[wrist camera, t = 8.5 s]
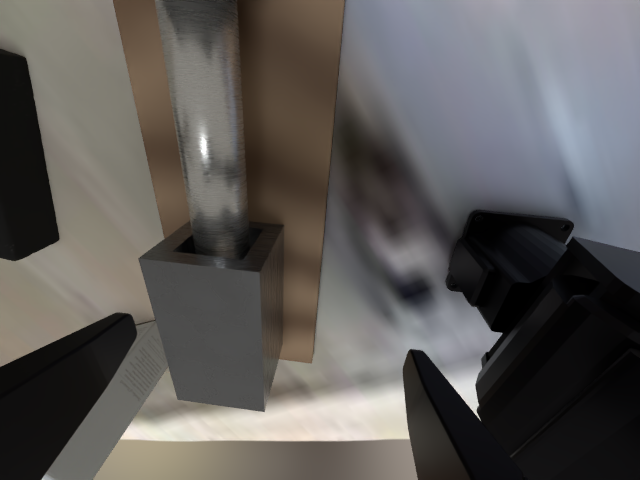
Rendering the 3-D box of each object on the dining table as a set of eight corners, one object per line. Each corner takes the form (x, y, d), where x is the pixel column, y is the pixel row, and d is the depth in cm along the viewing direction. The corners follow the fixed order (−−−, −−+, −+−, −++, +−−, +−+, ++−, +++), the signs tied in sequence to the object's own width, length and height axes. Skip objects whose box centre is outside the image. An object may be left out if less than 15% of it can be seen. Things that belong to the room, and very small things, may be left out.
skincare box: (137, 358, 29) (15, 506, 18) (111, 330, 27) (-39, 475, 17) (183, 348, 28) (80, 502, 17) (158, 318, 26) (27, 468, 15)
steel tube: (273, 264, 20) (251, 312, 15) (208, 256, 20) (167, 302, 16) (270, -194, 10) (208, -430, 6) (146, -198, 11) (-9, -429, 6)
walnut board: (313, 354, 26) (311, 363, 25) (193, 339, 27) (188, 347, 26) (371, -292, 10) (373, -330, 9) (66, -295, 11) (40, -332, 10)
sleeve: (282, 344, 24) (264, 411, 19) (214, 335, 25) (177, 399, 19) (284, 224, 19) (259, 272, 14) (196, 215, 19) (138, 258, 14)
